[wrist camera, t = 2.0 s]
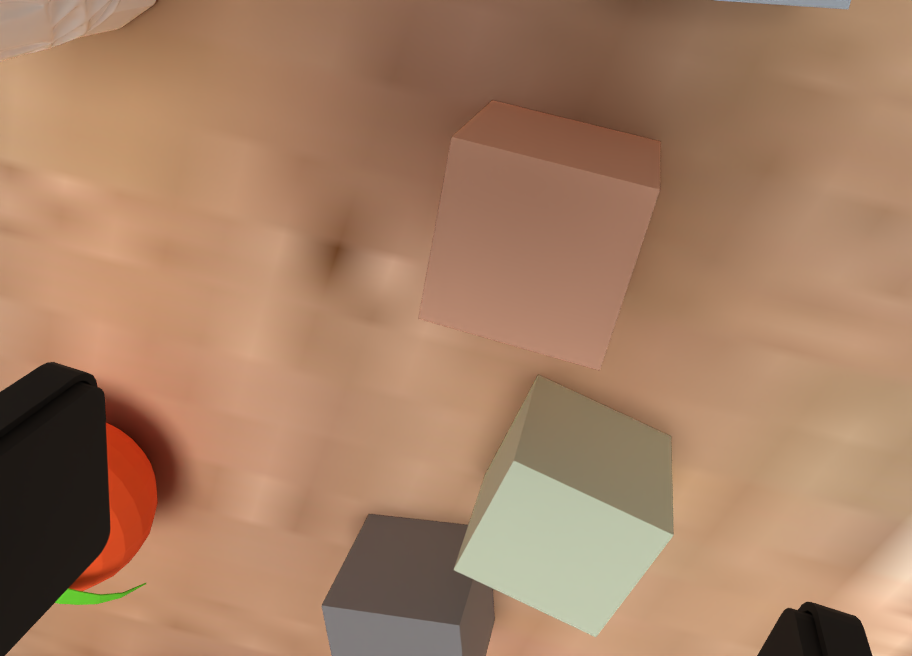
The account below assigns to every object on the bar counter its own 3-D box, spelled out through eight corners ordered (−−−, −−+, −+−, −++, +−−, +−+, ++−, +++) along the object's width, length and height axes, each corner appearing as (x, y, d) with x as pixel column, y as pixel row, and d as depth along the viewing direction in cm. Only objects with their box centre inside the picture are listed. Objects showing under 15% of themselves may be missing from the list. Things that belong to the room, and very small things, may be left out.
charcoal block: (369, 512, 31) (321, 605, 26) (489, 525, 29) (459, 625, 25) (383, 602, 33) (341, 702, 28) (495, 618, 32) (468, 724, 27)
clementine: (235, 458, 31) (129, 586, 25) (182, 552, 34) (77, 684, 28) (68, 353, 30) (-82, 456, 24) (32, 458, 34) (-108, 572, 28)
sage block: (538, 373, 26) (513, 460, 21) (671, 435, 26) (673, 535, 21) (485, 474, 28) (453, 570, 24) (605, 530, 28) (596, 637, 24)
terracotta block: (492, 99, 22) (451, 136, 18) (660, 140, 21) (660, 189, 17) (461, 252, 24) (418, 318, 20) (611, 293, 24) (600, 370, 19)
